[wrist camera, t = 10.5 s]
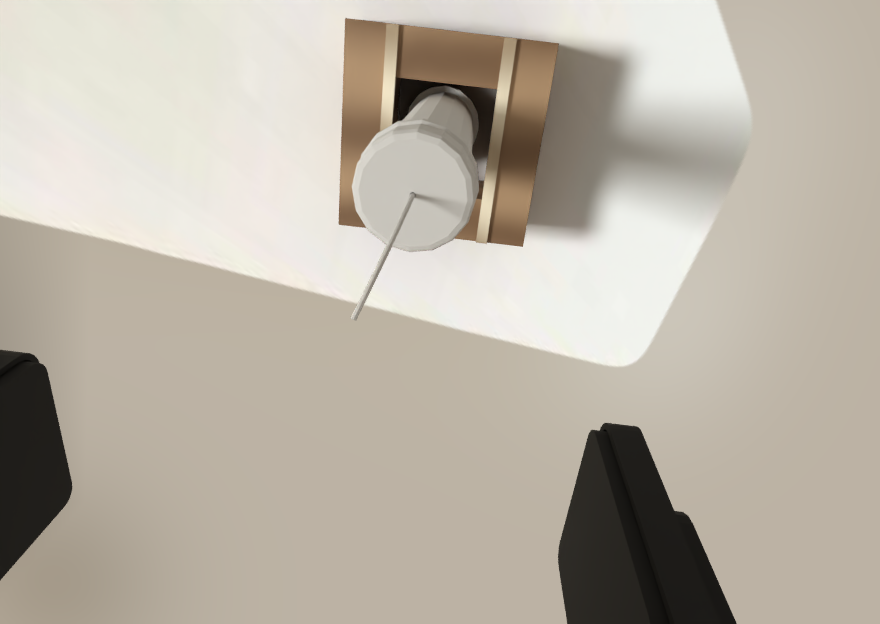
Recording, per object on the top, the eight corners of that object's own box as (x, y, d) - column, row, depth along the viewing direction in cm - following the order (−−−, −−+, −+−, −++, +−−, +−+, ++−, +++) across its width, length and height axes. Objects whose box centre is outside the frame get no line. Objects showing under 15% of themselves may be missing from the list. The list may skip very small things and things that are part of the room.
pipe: (491, 105, 46) (511, 204, 18) (454, 176, 48) (422, 355, 21) (428, 69, 45) (352, 118, 18) (393, 143, 47) (279, 286, 20)
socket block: (361, 20, 44) (344, 18, 38) (548, 42, 43) (559, 43, 38) (353, 203, 50) (337, 225, 44) (517, 223, 50) (523, 247, 44)
